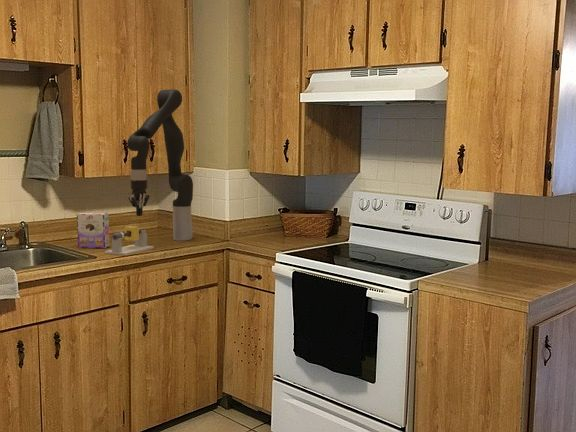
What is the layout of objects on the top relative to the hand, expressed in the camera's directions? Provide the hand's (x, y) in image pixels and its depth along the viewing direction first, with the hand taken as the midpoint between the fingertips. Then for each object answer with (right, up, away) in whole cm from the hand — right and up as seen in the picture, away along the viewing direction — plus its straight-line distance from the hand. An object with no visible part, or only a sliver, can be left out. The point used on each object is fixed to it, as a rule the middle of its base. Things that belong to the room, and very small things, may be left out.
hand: (139, 215), depth 325 cm
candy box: (-23, -15, +4) cm, 27 cm away
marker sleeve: (-3, -11, -4) cm, 12 cm away
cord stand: (-3, -16, -5) cm, 17 cm away
